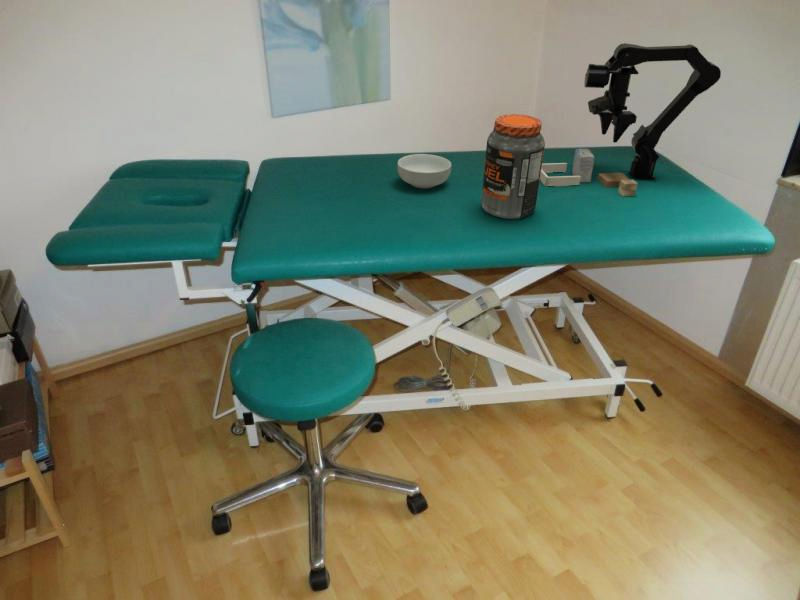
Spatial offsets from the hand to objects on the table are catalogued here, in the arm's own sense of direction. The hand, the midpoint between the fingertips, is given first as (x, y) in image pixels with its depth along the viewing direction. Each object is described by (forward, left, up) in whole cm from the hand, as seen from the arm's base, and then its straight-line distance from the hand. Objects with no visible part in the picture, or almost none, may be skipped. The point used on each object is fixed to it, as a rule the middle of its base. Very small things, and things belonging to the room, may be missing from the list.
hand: (609, 138), depth 194 cm
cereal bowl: (+61, +3, -12) cm, 62 cm away
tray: (+17, +3, -12) cm, 21 cm away
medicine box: (+9, +3, -12) cm, 15 cm away
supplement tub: (+40, +25, -12) cm, 49 cm away
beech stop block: (0, +18, -12) cm, 21 cm away
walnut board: (0, +8, -12) cm, 15 cm away
